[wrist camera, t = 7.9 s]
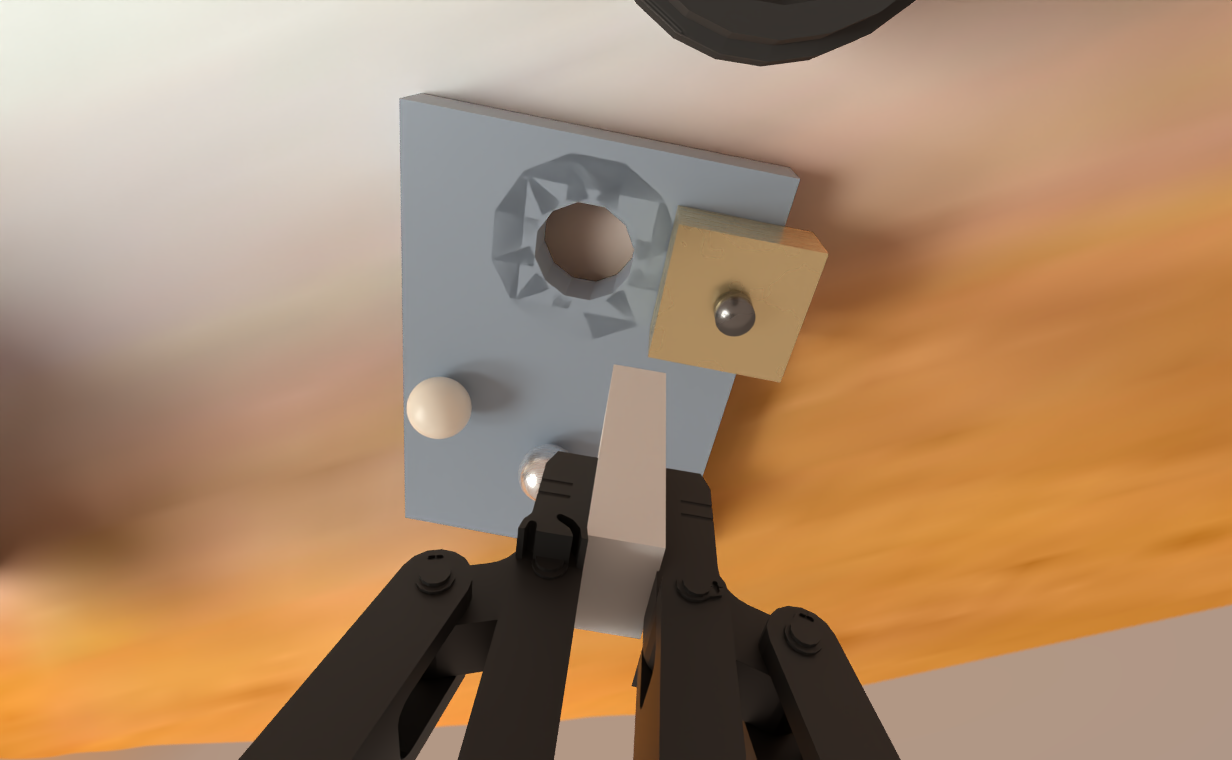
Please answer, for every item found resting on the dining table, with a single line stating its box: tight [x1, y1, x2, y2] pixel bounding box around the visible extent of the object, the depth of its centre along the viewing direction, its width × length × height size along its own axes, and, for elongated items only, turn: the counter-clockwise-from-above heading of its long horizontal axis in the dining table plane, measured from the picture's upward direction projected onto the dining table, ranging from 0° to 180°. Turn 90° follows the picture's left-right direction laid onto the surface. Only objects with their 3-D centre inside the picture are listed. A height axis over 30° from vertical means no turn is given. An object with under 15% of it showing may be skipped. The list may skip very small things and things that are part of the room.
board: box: [400, 93, 800, 538], centre depth 32 cm, size 17×24×2 cm
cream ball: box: [407, 377, 472, 439], centre depth 30 cm, size 3×3×3 cm
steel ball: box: [518, 444, 569, 501], centre depth 32 cm, size 3×3×3 cm
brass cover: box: [648, 205, 829, 383], centre depth 25 cm, size 6×6×4 cm
